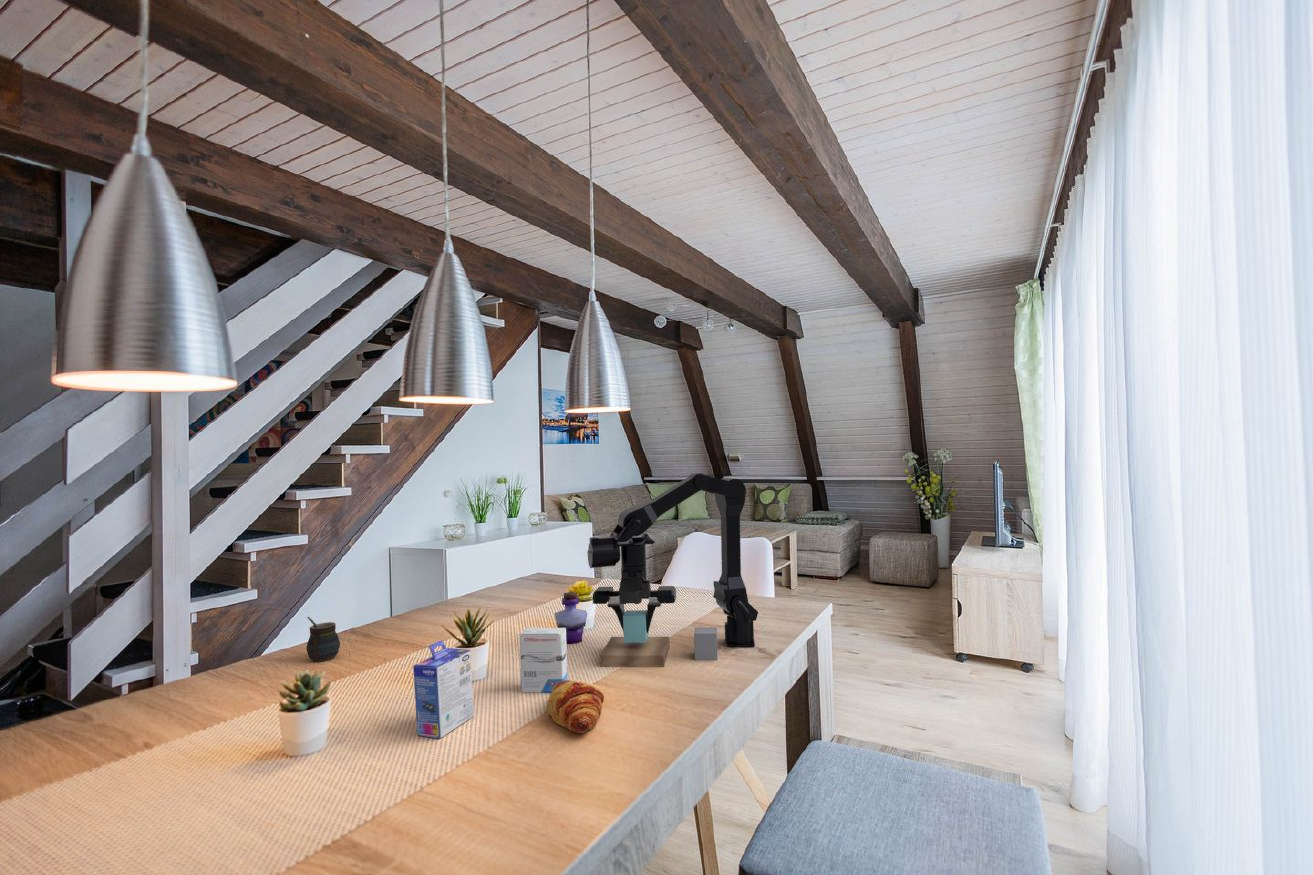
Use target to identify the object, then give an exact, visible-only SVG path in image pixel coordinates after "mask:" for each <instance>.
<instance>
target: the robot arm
mask: <svg viewBox="0 0 1313 875" xmlns="http://www.w3.org/2000/svg"><path fill="white" fill-rule="evenodd" d="M700 491H703V492H706V493H709V494H712V495H714V498H715V504H716V506H717V508H718V513H719V514H720V515H719V516H720V544H721V551H720V552H721V554H720V555H721V557H720V558H721V574H720V578H719V580H718V581H717V580H713V581H712V582H713V590H714V592H713V595H712V597H713V598H714V599H715V603H716V605H717V606H719V607H720V609H722V611H723V614H724V615H726V621H725V622H724V642H725V643H726V646H727V647H735V648H737V647H739V648H740V647H742V648H743V647H745V648H746V647H749V648H750V647H751V648H752V647H753V648H754V647H756V643H755V642H756V641H755V633H754V632H755V631H754V630H755V629H754V621H757V619H758V618H757V617H758V616H759V615H758V614H759V612H758V610H757V609H756V608H754V607H753V606H752V605H751V604H750V602H749V597H748V593H747V592H748V591H747V587H746V584H745V582H744V579H743V576H742V566H741V565H742V563H741V562H742V561H741V557H742V556H741V552H742V551H741V514H742V512H743V509H744V507H745V505H746V504H745V503H746V498H747V486H746V484H745V483H744V482H743V481H742V480H740V479H738V478H731V477H730V478H729V477H722V478H718V477H714V476H710V475H706V474H705V473H703V472H702V473H701V472H692V473H690V474H689V476H687V477H686V478H684V479H682V480H681V481H680V482H678V483H677V484H674V485H673V486H672V487H670V488H668V489H667V490H664V491H663V492H662V493H660V494H658V495H657V496H655V497H654V498H652V499H651V500H649V501H646V502H643V503H639V504H636V505H633V506H631V507H628V508H626V509H624V510H623V511H621V512H620V513H619V515H618V518H617V524H616V526H615V527H614V529H613V530H612V532H611V533H610V535H609V536H606V537H605V536H604V537H596V536H594V537H593V536H592V537H589V543H588V550H586V552H587V563H588V566H589V568H590V569H595V568H596V569H597V568H606V567H607V568H608V567H615V566H616V565H617V564H618V563H619V562H620V561H621V563H620V564H621V565H620V566H621V567H620V568H621V578H620V582H619V587H618V588H619V589H618V590H614V586H598V587H597V588H596V589H595V590H594V592H593V593H592V604H594V605H607V607H608V608H611V609H612V610H613V611H614V613H615V615H616V617H617V619H618V622H619V624H620V627H621V630H622V633H624V631H623V615H624V613H625V612H626V610H625V605H627V604H634V605H639V604H641V603H642V600H648V603H647V604H646V605H647V606H646V607H647V608H646V609H647V621H646V631H647V633H648V634H649V631H650V627H651V625H652V619H653V618H654V614H655V611H656V608H660V607H661V606H662V604H675V602H676V601H677V600H676V599H677V588H676V587H675V586H674V585H664V586H663V585H658V587H657V589H656V590H655V589H654V590H652V588H651V581H650V580H648V579H647V578H648V576H647V575H648V574H647V573H648V572H647V550H646V549H647V548H646V546H647V545H653V544H655V540H654V539H652V538H651V537H650V536H649V534H648V533H646V532H647V530H649V529H650V528H651V527H652V526H653V525H654V524H655V523H656V521H658V519H659V518H660V517H661V516H662V515H664V514H665V513H667V512H668V511H670V510H671V509H673V508H675V507H676V506H678V505H680V504H681V503H682V502H684V501H686V500H688V499H689V498H691V497H692V496H694V495H695V494H697V493H699V492H700Z"/></svg>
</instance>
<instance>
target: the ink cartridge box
mask: <svg viewBox="0 0 1313 875" xmlns="http://www.w3.org/2000/svg"><path fill="white" fill-rule="evenodd" d="M437 647H442V649H440V650H438V651H435V649H437ZM428 648H429V649H430V650H429V651H430V653H431V656H430V657H428V658H426V659H424V660H422V661H421V662H418V663H417V664H416V663H415V664H414V665H413V666H412V668H413V681H414V683H413V684H414V685H413V686H414V699H415V700H414V701H415V718H416V734H417V736H420V737H427V738H433V739H441V738H443V737H445V736H446V735H448V734H449V733H450V732H452V731H453V730H455V729H457V728H459V726H461V725H463V724H464V723H465V722H467V721H469V720H470V719H471V718H473V717H474V716H475V712H474V692H473V691H474V690H473V675H472V672H473V671H472V653H471V652H472V650H470V649H463V648H456V647H455V648H453V647H452V648H451V647H450V648H447V647H446V645H445V643H444V641H443V640H439V641H437V642H435V643H432V644H430V645H429V646H428Z"/></svg>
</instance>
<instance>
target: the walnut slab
mask: <svg viewBox="0 0 1313 875" xmlns="http://www.w3.org/2000/svg"><path fill="white" fill-rule="evenodd" d="M669 650H670V636H648V638H647V641H646V643H624V636H611V637H610V639H609V640H608V641H607V643H606V645H605V647H604V649H603V650H602V652H601V653H600V656H599V657H600V667H601V668H602V667H603V668H665V664H666V661H667V658H668V655H669Z"/></svg>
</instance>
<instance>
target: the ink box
mask: <svg viewBox="0 0 1313 875" xmlns="http://www.w3.org/2000/svg"><path fill="white" fill-rule="evenodd" d="M518 635H519V649H520V650H519V653H520V654H519V655H520V657H519V658H520V659H519V660H520V686H521V687H520V688H521V691H520V692H521V693H551V692H552V689H553V688H554V687H555V686H556V684H557V683H559V682H561V681H565V680H568V657H567V656H568V655H567V654H568V653H567V644H566V628H558V627H526V628H525V629H524V630H523V631H521V633H519V634H518Z"/></svg>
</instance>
